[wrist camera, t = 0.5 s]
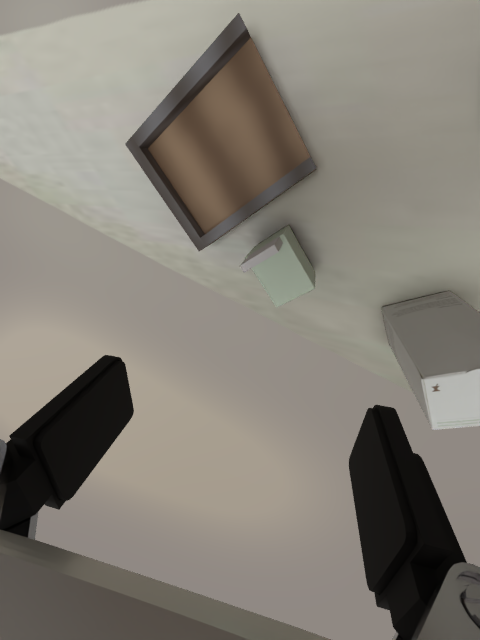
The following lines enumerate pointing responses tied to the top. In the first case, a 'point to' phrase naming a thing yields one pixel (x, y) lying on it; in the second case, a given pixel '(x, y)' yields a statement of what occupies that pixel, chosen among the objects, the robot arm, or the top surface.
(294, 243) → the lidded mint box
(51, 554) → the robot arm
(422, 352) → the skincare box
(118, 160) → the top surface
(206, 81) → the brown wooden tray
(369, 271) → the top surface
